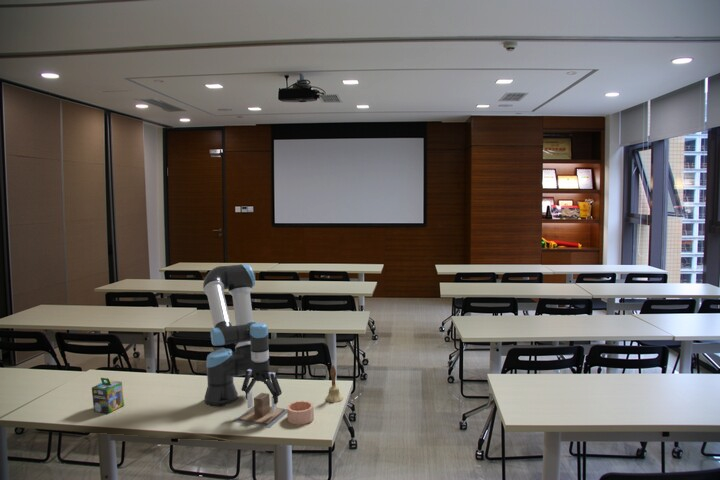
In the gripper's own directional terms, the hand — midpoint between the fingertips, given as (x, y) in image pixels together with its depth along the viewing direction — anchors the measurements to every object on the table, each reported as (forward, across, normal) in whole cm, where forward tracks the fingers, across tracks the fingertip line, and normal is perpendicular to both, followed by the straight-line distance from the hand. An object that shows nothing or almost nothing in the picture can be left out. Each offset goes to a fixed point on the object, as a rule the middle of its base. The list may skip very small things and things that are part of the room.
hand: (262, 408), depth 214 cm
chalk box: (+4, -72, -15) cm, 74 cm away
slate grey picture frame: (+4, 0, 0) cm, 4 cm away
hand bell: (+4, +22, +27) cm, 35 cm away
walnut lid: (+3, 0, 0) cm, 3 cm away
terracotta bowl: (+4, +17, +3) cm, 18 cm away
